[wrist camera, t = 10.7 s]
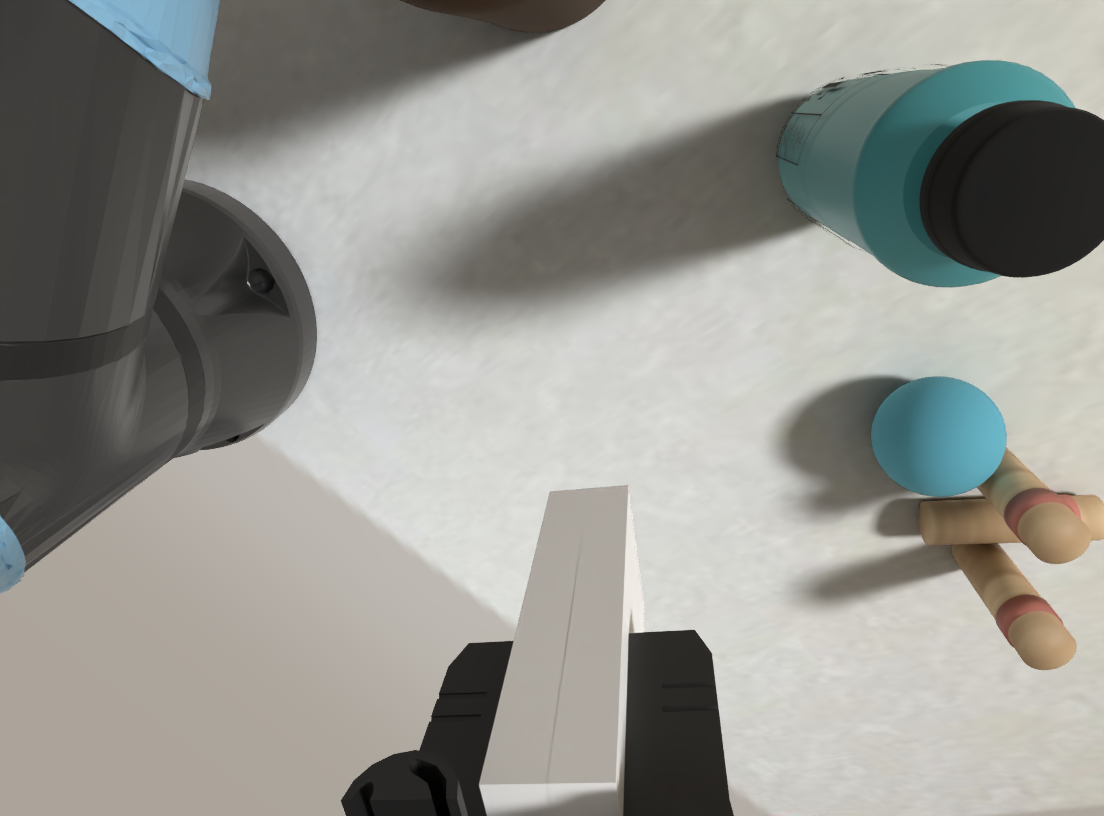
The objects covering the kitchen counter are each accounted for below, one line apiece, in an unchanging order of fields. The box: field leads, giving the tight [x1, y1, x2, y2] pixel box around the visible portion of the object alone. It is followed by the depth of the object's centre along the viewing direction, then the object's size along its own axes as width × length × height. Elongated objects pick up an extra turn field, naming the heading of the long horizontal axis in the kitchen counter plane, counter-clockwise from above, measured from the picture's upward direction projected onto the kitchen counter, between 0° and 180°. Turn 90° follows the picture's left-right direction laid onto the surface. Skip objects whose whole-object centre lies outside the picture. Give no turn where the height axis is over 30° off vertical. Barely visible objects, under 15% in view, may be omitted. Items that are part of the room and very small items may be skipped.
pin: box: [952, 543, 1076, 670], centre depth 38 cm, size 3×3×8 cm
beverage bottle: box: [776, 61, 1104, 287], centre depth 26 cm, size 6×7×20 cm
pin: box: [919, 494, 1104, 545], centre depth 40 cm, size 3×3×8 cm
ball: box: [871, 377, 1007, 497], centre depth 37 cm, size 6×6×6 cm
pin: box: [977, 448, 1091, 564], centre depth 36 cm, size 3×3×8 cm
